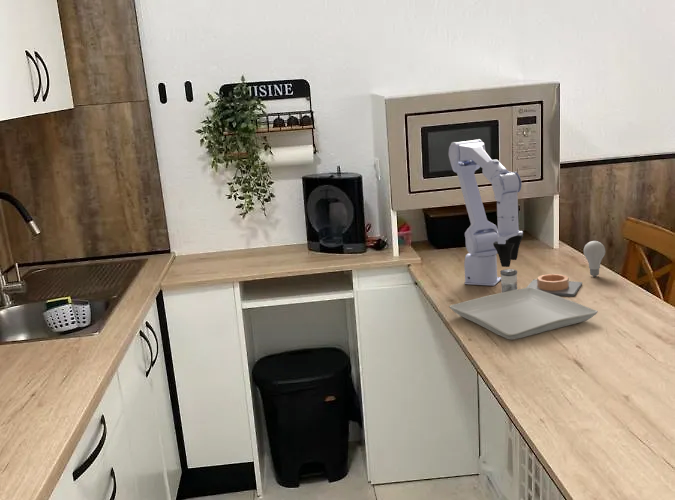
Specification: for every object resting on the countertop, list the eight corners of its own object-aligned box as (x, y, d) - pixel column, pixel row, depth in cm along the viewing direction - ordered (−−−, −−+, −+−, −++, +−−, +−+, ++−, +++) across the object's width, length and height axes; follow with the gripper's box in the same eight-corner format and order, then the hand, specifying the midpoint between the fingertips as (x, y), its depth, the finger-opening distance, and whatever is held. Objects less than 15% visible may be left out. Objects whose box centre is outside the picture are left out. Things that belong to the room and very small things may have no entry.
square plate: (447, 318, 194) (446, 304, 193) (530, 298, 204) (530, 285, 203) (509, 348, 170) (508, 332, 169) (600, 324, 180) (600, 309, 179)
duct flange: (523, 293, 208) (523, 282, 207) (533, 281, 218) (533, 271, 217) (573, 296, 201) (573, 285, 200) (582, 284, 211) (581, 273, 210)
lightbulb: (606, 279, 214) (606, 243, 212) (585, 279, 216) (584, 243, 213) (603, 273, 220) (603, 238, 218) (582, 274, 221) (582, 239, 219)
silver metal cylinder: (499, 296, 207) (498, 273, 205) (503, 291, 211) (502, 268, 209) (515, 297, 205) (514, 273, 203) (519, 292, 209) (519, 269, 207)
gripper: (515, 221, 194) (516, 270, 198) (528, 211, 207) (529, 257, 210) (489, 221, 198) (491, 269, 201) (504, 211, 210) (505, 256, 213)
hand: (509, 263), depth 206 cm, fingers open, 7 cm apart
